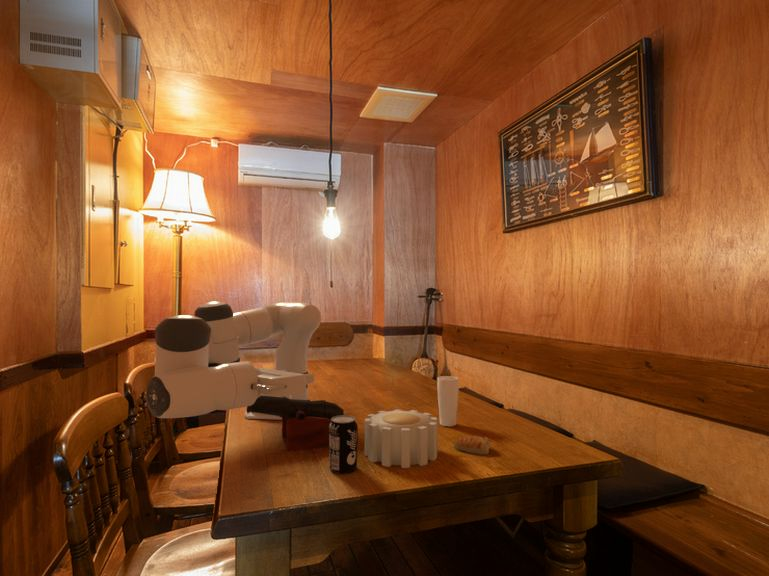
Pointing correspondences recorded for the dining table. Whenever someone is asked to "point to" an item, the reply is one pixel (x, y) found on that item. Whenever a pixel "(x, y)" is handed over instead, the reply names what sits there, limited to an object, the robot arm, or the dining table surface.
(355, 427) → the beverage can
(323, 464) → the dining table surface
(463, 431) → the dining table surface
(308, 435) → the cannon model
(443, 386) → the drinking glass
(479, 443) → the pastry
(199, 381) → the robot arm
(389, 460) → the gear pedestal
